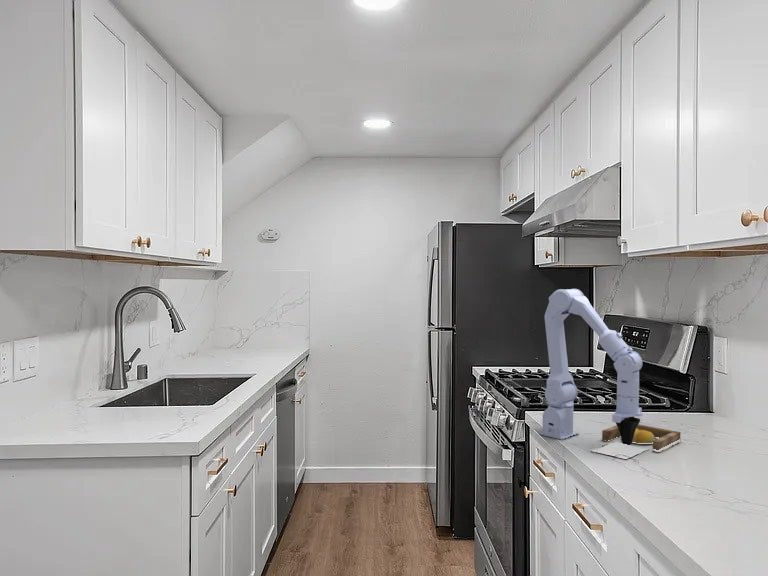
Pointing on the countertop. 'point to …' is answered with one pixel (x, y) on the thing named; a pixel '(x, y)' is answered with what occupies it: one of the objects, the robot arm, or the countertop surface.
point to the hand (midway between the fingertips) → (626, 443)
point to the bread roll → (643, 436)
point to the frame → (663, 434)
